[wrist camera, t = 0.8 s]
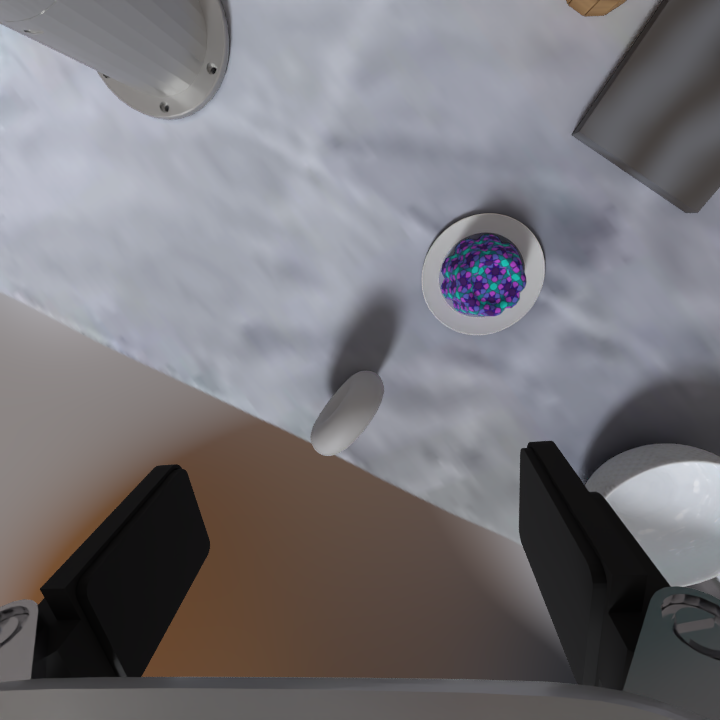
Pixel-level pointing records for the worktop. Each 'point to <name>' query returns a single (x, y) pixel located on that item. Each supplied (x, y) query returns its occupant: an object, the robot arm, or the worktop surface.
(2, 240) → the worktop surface
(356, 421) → the donut
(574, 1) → the bead
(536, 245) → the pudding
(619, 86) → the needle stand
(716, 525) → the cereal bowl
